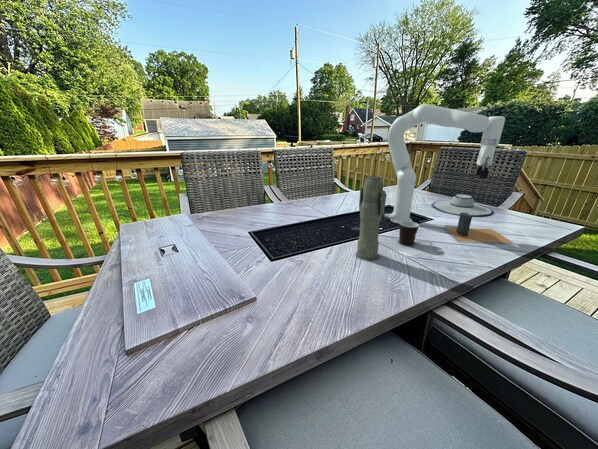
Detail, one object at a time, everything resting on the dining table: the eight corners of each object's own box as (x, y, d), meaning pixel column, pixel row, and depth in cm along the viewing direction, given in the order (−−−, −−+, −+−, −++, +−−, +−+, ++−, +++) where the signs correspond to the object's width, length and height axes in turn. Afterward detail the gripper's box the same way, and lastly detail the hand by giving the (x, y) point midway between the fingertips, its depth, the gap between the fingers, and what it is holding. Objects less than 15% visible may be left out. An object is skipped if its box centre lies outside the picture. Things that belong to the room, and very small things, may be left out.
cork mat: (459, 241, 122) (459, 240, 122) (444, 228, 139) (444, 227, 139) (512, 243, 119) (512, 242, 119) (490, 229, 136) (490, 229, 136)
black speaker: (461, 236, 127) (465, 216, 123) (455, 231, 133) (460, 212, 129) (467, 236, 127) (472, 216, 123) (461, 232, 132) (466, 212, 129)
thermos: (373, 263, 104) (382, 180, 92) (350, 254, 112) (355, 177, 100) (384, 256, 110) (393, 177, 97) (361, 248, 118) (367, 174, 105)
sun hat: (431, 200, 196) (433, 188, 193) (485, 204, 182) (488, 192, 179) (433, 212, 165) (435, 199, 162) (499, 219, 151) (503, 205, 148)
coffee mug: (407, 248, 117) (410, 228, 113) (393, 241, 124) (395, 222, 120) (423, 243, 122) (427, 224, 118) (409, 237, 129) (412, 218, 125)
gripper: (477, 142, 134) (469, 173, 140) (484, 143, 119) (475, 178, 125) (494, 142, 131) (485, 174, 137) (503, 143, 116) (493, 179, 122)
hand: (481, 176), depth 131 cm, fingers open, 9 cm apart
